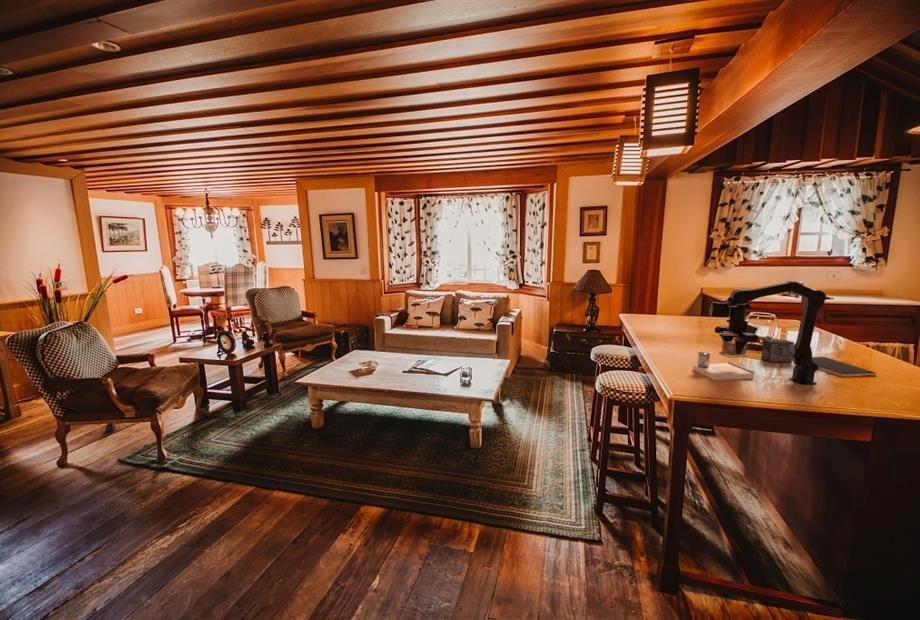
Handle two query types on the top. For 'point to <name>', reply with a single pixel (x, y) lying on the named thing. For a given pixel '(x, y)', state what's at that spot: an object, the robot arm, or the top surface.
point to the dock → (725, 371)
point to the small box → (776, 351)
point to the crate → (732, 350)
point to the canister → (703, 359)
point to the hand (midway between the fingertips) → (733, 352)
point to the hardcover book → (839, 367)
